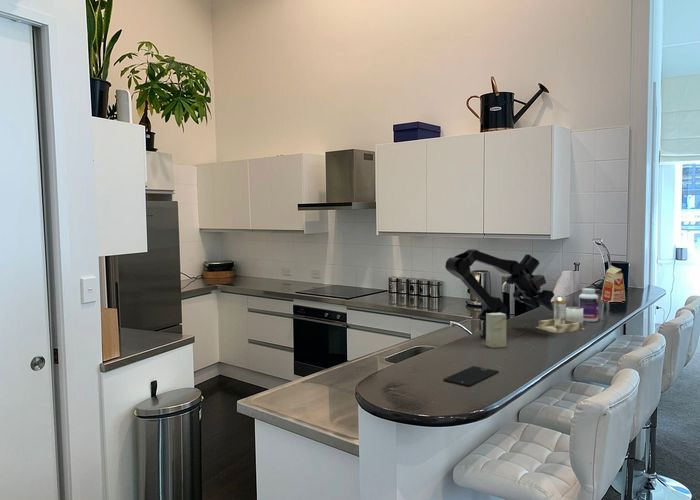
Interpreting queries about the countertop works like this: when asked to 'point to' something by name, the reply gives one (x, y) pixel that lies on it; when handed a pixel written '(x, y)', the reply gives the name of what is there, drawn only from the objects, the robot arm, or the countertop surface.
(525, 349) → the countertop surface
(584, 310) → the pill bottle
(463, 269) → the robot arm
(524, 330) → the countertop surface
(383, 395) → the countertop surface
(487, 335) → the skincare box
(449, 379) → the cell phone
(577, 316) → the white rounded cylinder
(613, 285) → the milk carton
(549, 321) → the cradle
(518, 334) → the countertop surface
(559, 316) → the cell
